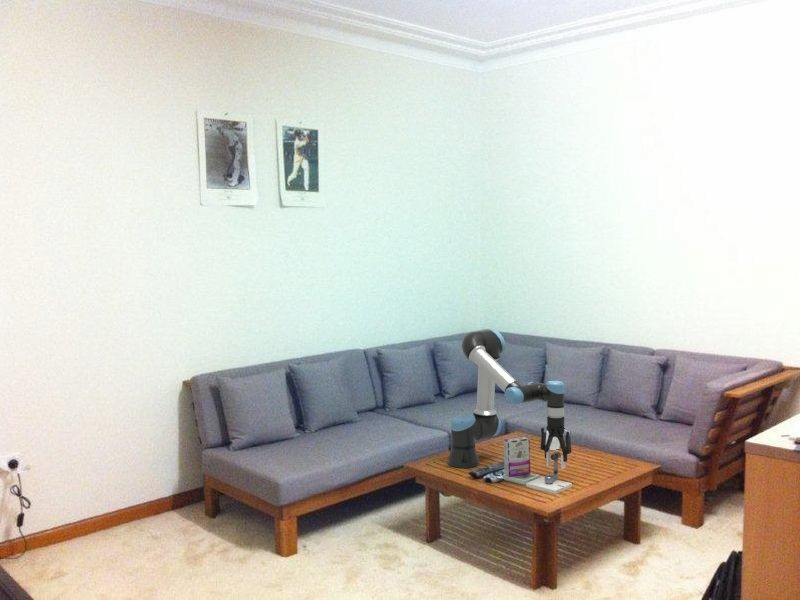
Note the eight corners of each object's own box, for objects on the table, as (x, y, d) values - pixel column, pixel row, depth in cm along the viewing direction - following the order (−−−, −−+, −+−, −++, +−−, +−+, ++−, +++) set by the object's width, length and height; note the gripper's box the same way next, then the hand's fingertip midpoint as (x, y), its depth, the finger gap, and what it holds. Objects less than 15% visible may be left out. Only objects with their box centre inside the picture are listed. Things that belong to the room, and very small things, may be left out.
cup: (537, 447, 380) (537, 429, 379) (553, 445, 384) (553, 427, 383) (549, 452, 371) (549, 433, 370) (565, 449, 375) (565, 431, 374)
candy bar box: (524, 471, 333) (524, 436, 332) (530, 474, 328) (530, 438, 327) (503, 474, 329) (503, 438, 328) (508, 477, 324) (508, 441, 323)
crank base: (526, 486, 317) (526, 482, 317) (542, 479, 326) (542, 475, 326) (555, 494, 307) (555, 490, 307) (571, 486, 316) (571, 482, 316)
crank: (550, 484, 314) (550, 458, 313) (543, 482, 316) (543, 457, 315) (562, 477, 323) (562, 452, 322) (554, 476, 325) (554, 451, 324)
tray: (494, 477, 331) (494, 473, 330) (508, 472, 338) (508, 468, 338) (525, 485, 319) (525, 481, 319) (539, 479, 326) (539, 475, 326)
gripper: (579, 417, 317) (580, 468, 319) (539, 411, 329) (539, 461, 331) (572, 420, 311) (572, 473, 313) (532, 415, 323) (532, 465, 325)
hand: (555, 467), depth 322 cm, fingers open, 6 cm apart
